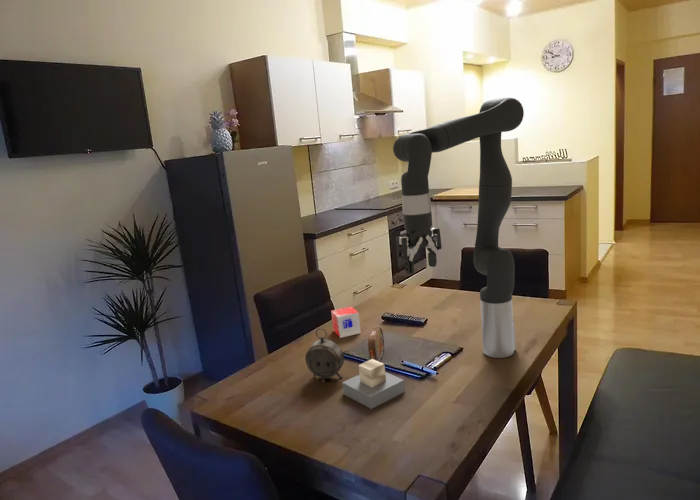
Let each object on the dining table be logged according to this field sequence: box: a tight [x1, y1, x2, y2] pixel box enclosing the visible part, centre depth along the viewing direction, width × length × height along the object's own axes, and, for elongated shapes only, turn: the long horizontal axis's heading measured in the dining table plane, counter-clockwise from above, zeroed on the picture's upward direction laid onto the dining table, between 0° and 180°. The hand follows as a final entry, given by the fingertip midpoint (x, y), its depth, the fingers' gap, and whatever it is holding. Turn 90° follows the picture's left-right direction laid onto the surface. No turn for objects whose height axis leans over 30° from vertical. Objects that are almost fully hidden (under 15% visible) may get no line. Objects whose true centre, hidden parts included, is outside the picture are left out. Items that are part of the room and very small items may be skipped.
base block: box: [341, 371, 406, 410], centre depth 144 cm, size 12×12×4 cm
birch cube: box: [358, 359, 386, 387], centre depth 143 cm, size 5×5×5 cm
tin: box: [367, 326, 385, 361], centre depth 166 cm, size 15×3×8 cm, turn 168°
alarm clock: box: [305, 327, 345, 383], centre depth 153 cm, size 11×5×16 cm, turn 71°
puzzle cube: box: [330, 306, 362, 339], centre depth 190 cm, size 8×8×8 cm
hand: (421, 269), depth 142 cm, fingers open, 8 cm apart
